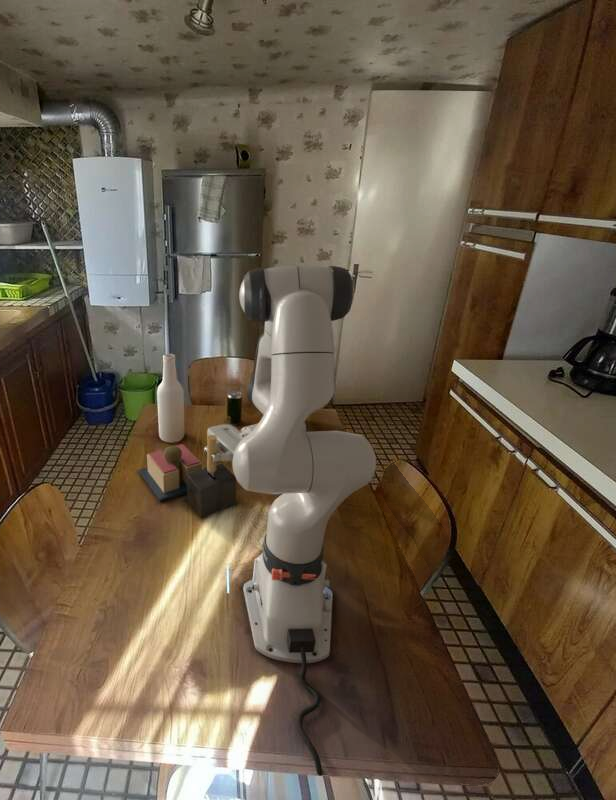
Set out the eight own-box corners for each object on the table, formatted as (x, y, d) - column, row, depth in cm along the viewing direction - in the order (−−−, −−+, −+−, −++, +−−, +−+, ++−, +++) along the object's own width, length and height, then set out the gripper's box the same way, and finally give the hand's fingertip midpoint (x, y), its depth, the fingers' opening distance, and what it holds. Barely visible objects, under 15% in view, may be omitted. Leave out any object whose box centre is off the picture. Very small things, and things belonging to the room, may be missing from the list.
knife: (217, 504, 119) (218, 438, 110) (209, 507, 118) (210, 440, 109) (212, 499, 121) (213, 433, 112) (205, 501, 120) (205, 436, 111)
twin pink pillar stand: (210, 485, 127) (211, 463, 124) (160, 502, 120) (159, 479, 116) (186, 458, 139) (186, 438, 136) (139, 472, 132) (137, 451, 129)
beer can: (234, 427, 158) (235, 397, 153) (223, 422, 162) (224, 392, 156) (244, 422, 162) (245, 393, 156) (233, 417, 165) (234, 388, 160)
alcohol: (184, 430, 156) (183, 350, 143) (184, 443, 148) (182, 360, 135) (160, 430, 155) (156, 350, 142) (158, 443, 147) (153, 360, 134)
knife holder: (235, 505, 119) (237, 478, 115) (200, 518, 114) (200, 490, 110) (221, 489, 125) (221, 463, 121) (186, 501, 120) (186, 474, 116)
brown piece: (180, 487, 125) (179, 455, 120) (160, 485, 126) (159, 453, 122) (186, 475, 131) (185, 444, 126) (166, 473, 132) (165, 442, 127)
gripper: (233, 415, 125) (190, 426, 119) (276, 448, 109) (230, 463, 103) (232, 434, 128) (190, 446, 122) (274, 469, 112) (229, 485, 106)
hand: (209, 454), depth 112 cm, fingers closed on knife, 2 cm apart
